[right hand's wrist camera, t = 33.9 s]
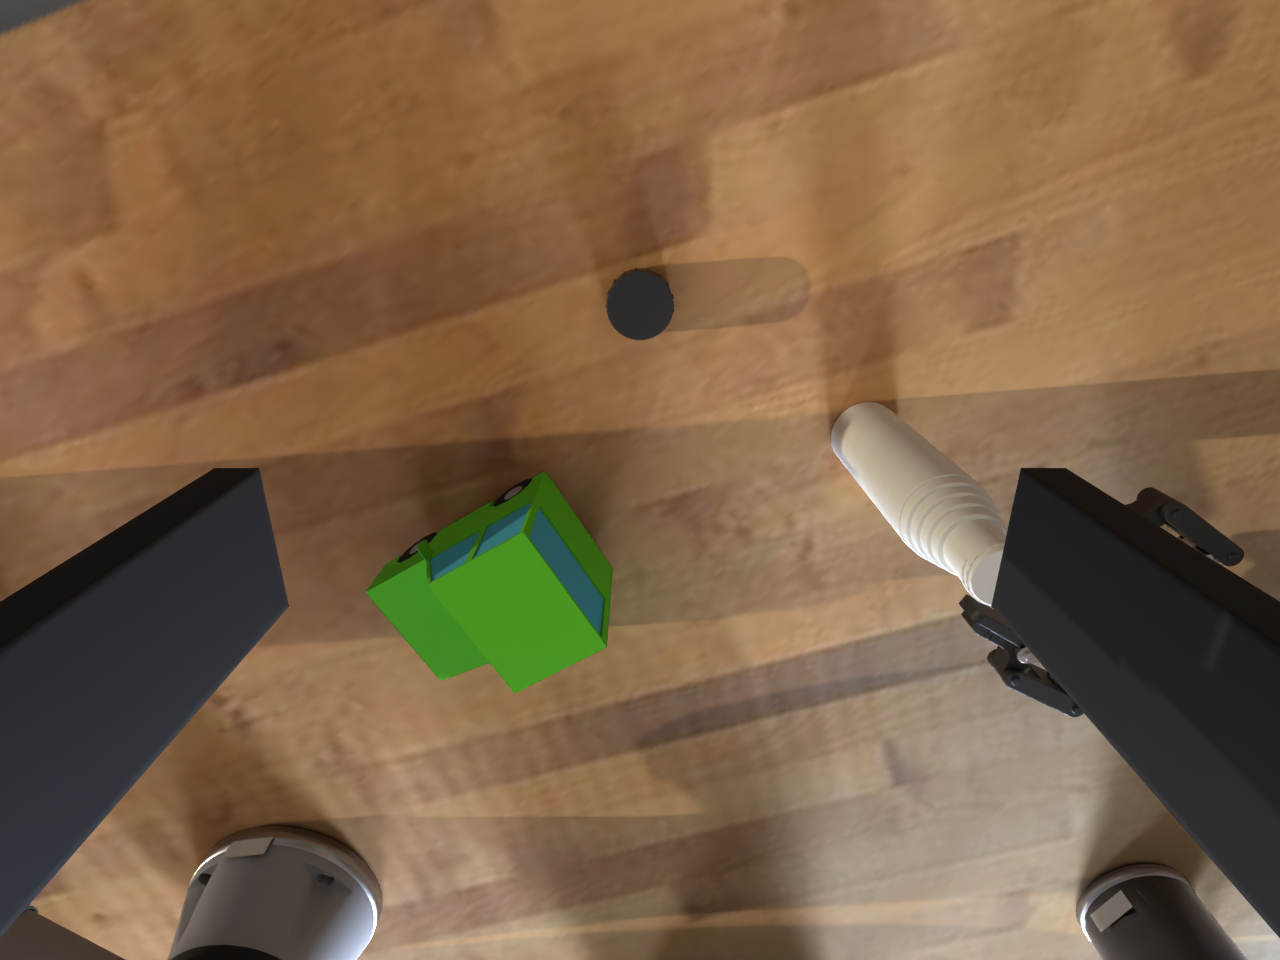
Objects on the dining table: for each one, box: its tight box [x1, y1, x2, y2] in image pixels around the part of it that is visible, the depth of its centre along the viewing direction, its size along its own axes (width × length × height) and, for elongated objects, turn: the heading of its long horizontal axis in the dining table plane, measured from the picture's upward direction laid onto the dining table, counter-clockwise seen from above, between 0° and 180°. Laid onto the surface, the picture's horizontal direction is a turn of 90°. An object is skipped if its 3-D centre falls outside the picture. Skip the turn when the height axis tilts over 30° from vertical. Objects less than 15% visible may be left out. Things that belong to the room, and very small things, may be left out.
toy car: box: [366, 471, 613, 693], centre depth 43 cm, size 10×13×10 cm
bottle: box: [831, 402, 1007, 606], centre depth 36 cm, size 4×4×18 cm
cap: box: [606, 268, 674, 340], centre depth 40 cm, size 4×4×2 cm
